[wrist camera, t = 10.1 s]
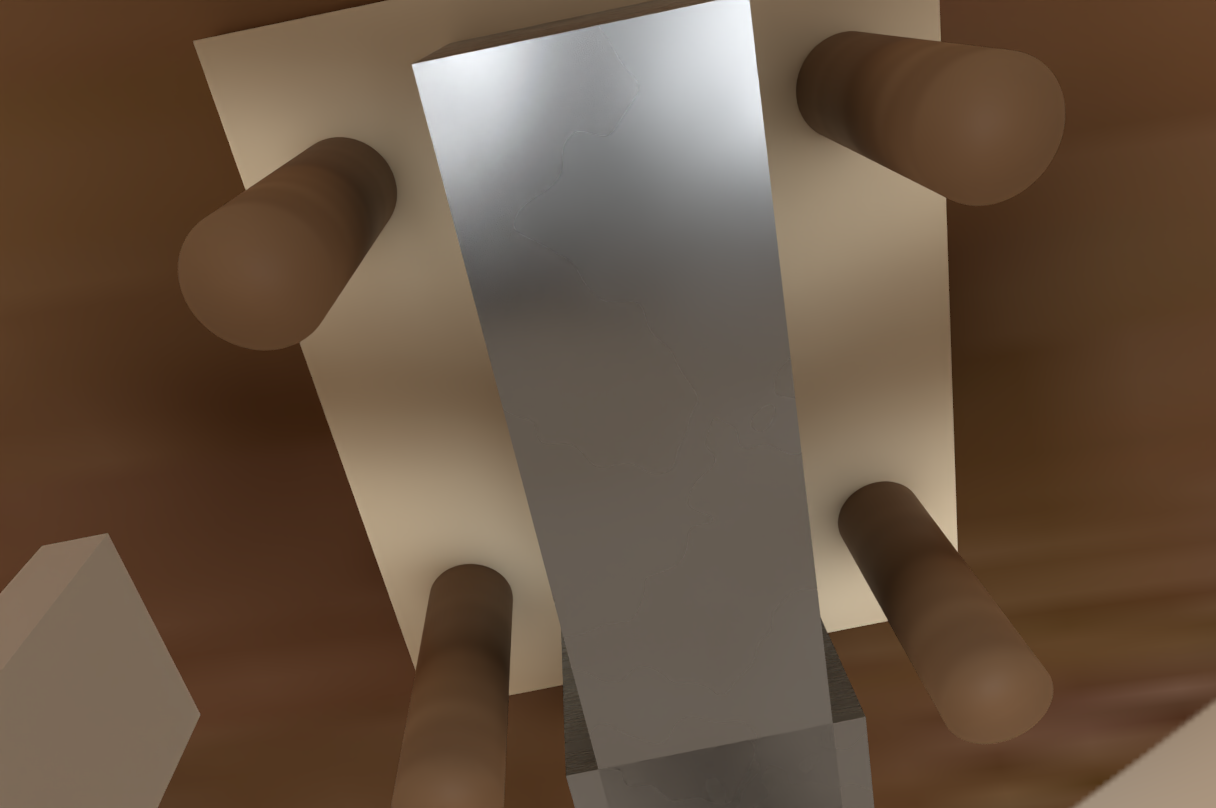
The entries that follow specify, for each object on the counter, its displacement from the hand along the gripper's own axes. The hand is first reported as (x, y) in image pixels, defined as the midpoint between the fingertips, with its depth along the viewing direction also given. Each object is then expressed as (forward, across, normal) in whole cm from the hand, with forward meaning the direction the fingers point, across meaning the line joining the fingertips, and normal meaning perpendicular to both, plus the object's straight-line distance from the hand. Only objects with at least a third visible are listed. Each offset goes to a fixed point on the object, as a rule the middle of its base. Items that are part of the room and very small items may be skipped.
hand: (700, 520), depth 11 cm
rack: (+7, 0, -1) cm, 7 cm away
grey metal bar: (+6, 0, -1) cm, 6 cm away
